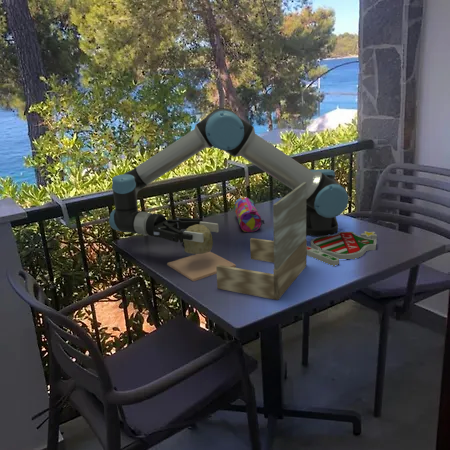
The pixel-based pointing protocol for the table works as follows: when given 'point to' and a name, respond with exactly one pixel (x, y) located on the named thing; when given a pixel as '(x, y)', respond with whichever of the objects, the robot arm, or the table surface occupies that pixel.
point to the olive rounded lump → (199, 246)
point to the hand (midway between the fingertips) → (210, 232)
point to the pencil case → (247, 215)
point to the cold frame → (274, 252)
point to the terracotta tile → (199, 265)
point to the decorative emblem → (341, 246)
